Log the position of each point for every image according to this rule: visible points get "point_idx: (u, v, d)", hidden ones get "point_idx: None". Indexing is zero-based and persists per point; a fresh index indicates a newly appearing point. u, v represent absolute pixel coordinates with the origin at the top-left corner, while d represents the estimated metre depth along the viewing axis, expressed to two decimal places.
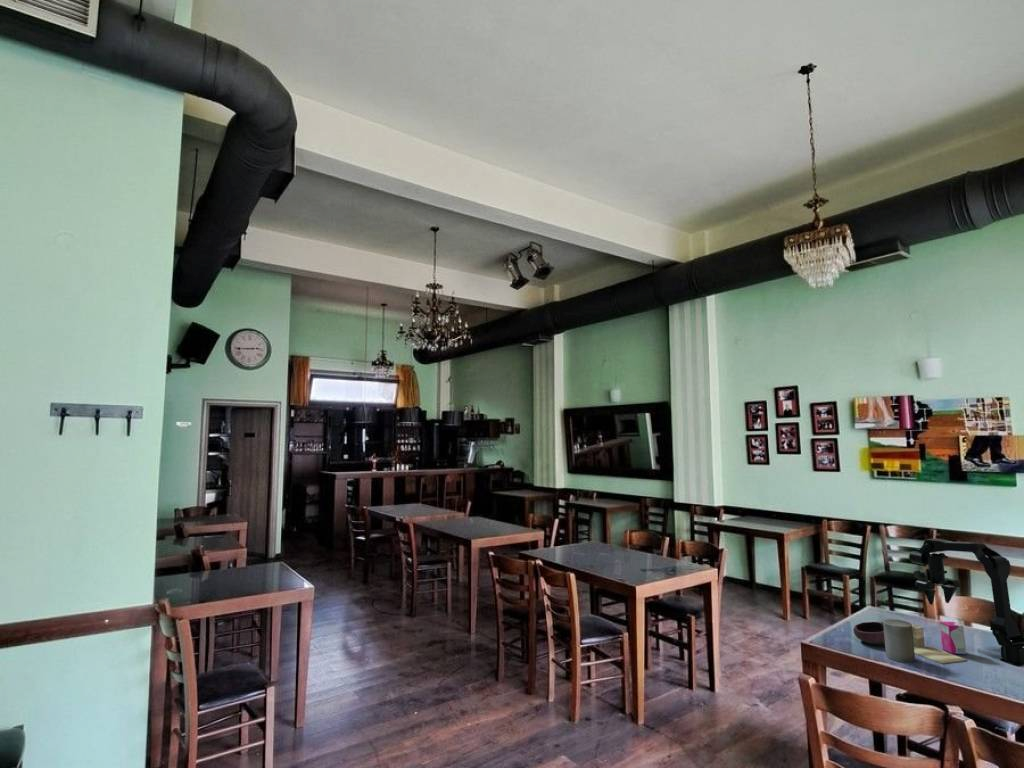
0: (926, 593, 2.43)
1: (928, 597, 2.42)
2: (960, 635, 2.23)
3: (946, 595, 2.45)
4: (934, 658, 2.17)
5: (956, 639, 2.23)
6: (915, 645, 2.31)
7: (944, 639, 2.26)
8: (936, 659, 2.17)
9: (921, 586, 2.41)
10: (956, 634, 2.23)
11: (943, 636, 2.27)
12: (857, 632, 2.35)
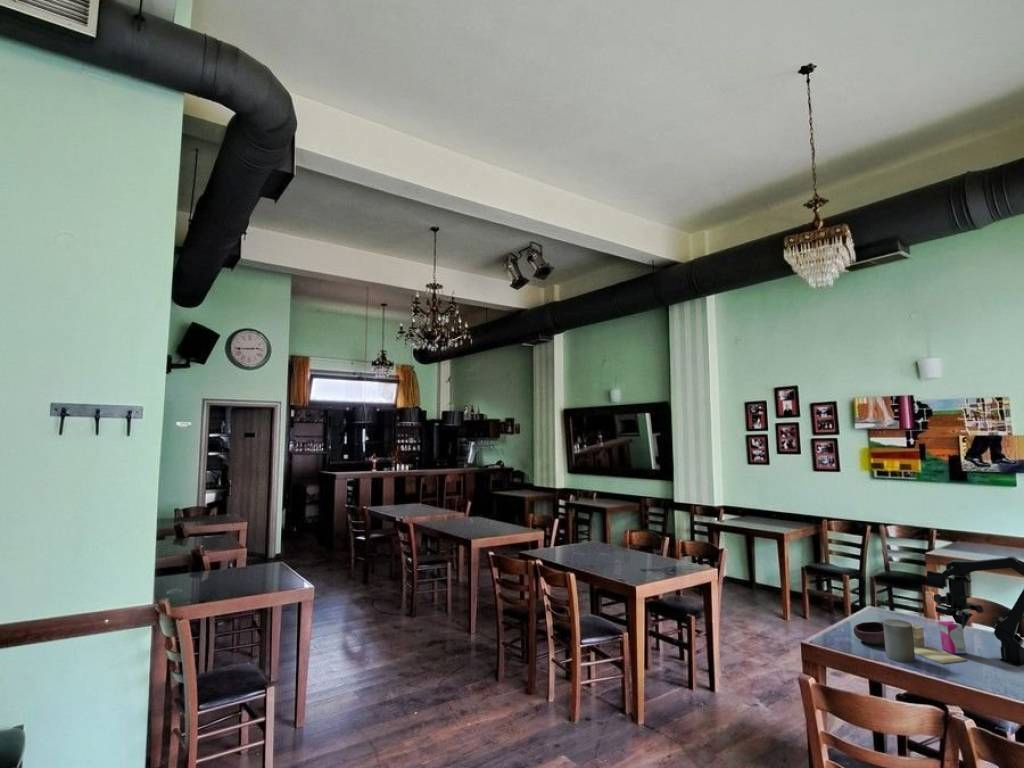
0: (955, 618, 2.28)
1: (957, 622, 2.27)
2: (959, 635, 2.23)
3: None
4: (934, 658, 2.17)
5: (955, 639, 2.23)
6: (915, 645, 2.31)
7: (944, 639, 2.26)
8: (936, 659, 2.17)
9: (941, 612, 2.26)
10: (955, 634, 2.23)
11: (943, 636, 2.27)
12: (857, 632, 2.35)
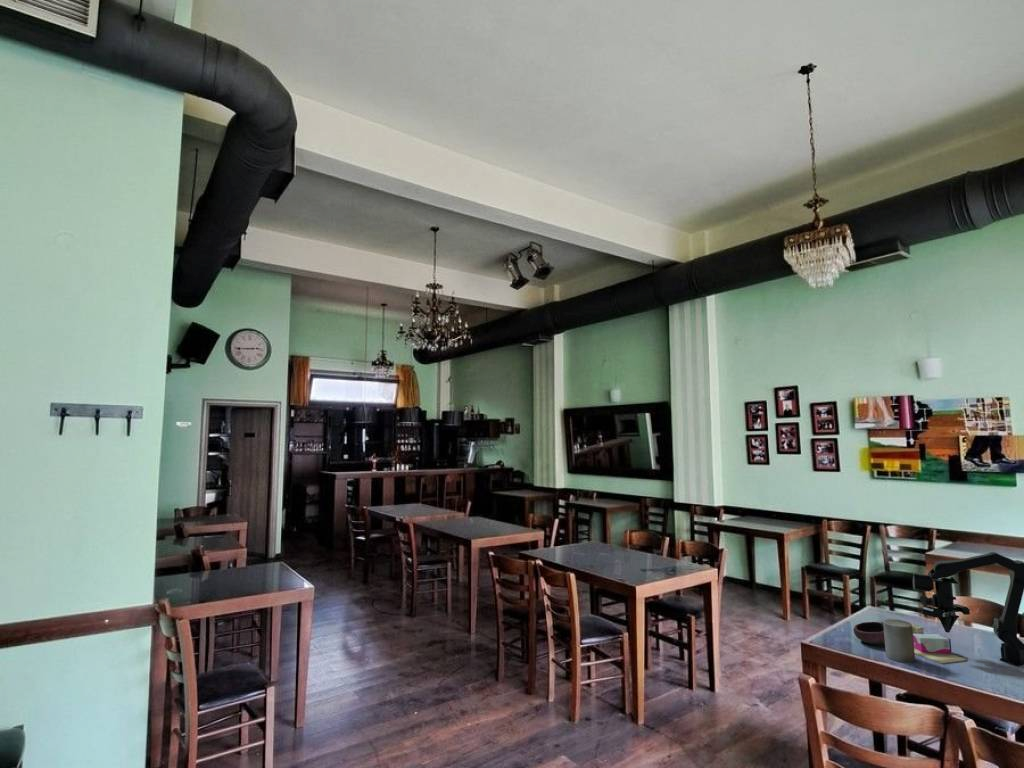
0: (941, 620, 2.26)
1: (944, 624, 2.25)
2: (931, 642, 2.24)
3: None
4: (934, 658, 2.17)
5: (935, 647, 2.23)
6: None
7: None
8: (936, 659, 2.17)
9: (928, 613, 2.24)
10: (930, 646, 2.23)
11: None
12: (857, 632, 2.35)
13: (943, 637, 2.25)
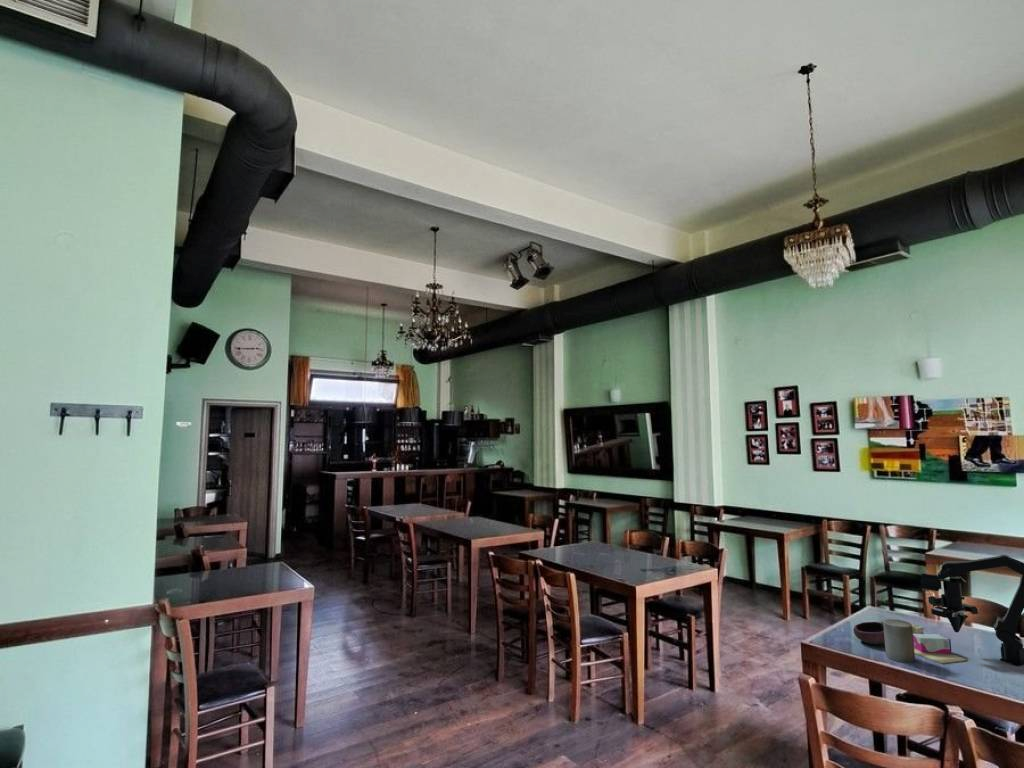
0: (951, 620, 2.27)
1: (953, 624, 2.26)
2: (931, 642, 2.24)
3: None
4: (934, 658, 2.17)
5: (935, 646, 2.23)
6: None
7: None
8: (936, 659, 2.17)
9: (937, 614, 2.24)
10: (930, 646, 2.23)
11: None
12: (857, 632, 2.35)
13: (943, 637, 2.25)
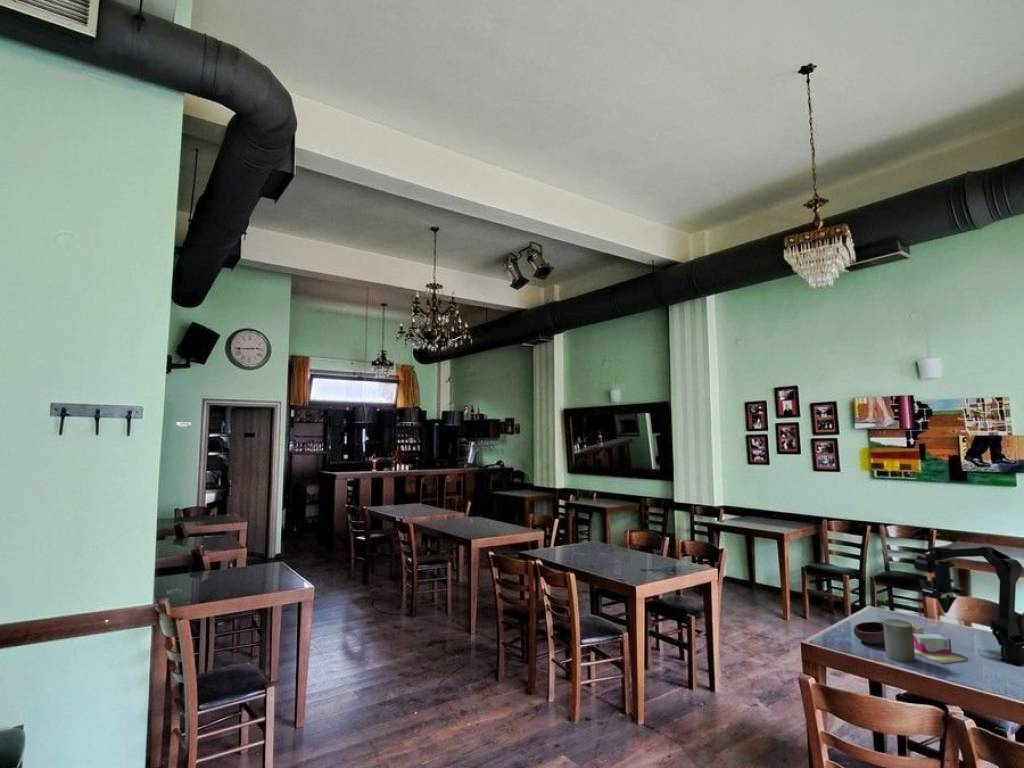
0: (940, 601, 2.39)
1: (942, 605, 2.38)
2: (931, 642, 2.24)
3: None
4: (934, 658, 2.17)
5: (935, 646, 2.23)
6: None
7: None
8: (936, 659, 2.17)
9: (927, 595, 2.37)
10: (930, 646, 2.23)
11: None
12: (857, 632, 2.35)
13: (943, 637, 2.25)
